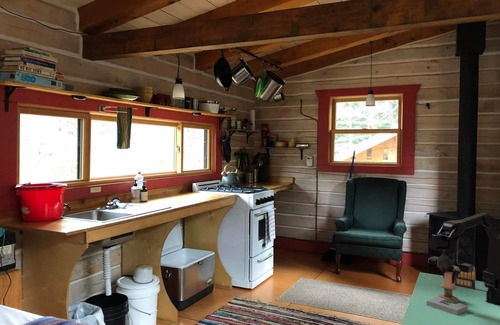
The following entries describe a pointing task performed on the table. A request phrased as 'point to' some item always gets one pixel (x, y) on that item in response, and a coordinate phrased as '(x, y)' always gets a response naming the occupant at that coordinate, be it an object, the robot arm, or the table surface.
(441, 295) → the brown door knob
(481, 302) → the table surface
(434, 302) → the notched board
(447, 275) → the tab
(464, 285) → the ammunition clip
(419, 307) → the table surface
